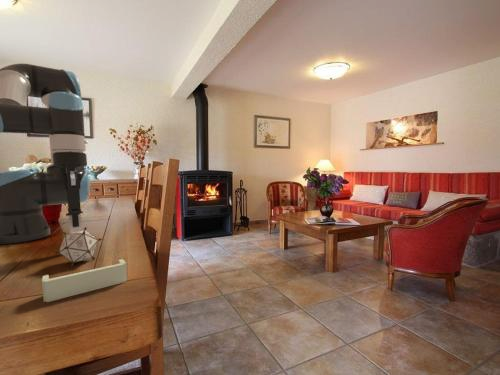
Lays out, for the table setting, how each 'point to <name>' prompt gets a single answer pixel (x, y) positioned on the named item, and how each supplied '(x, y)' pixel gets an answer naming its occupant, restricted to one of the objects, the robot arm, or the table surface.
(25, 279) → the table surface
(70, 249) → the game die
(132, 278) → the table surface
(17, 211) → the robot arm
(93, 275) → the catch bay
